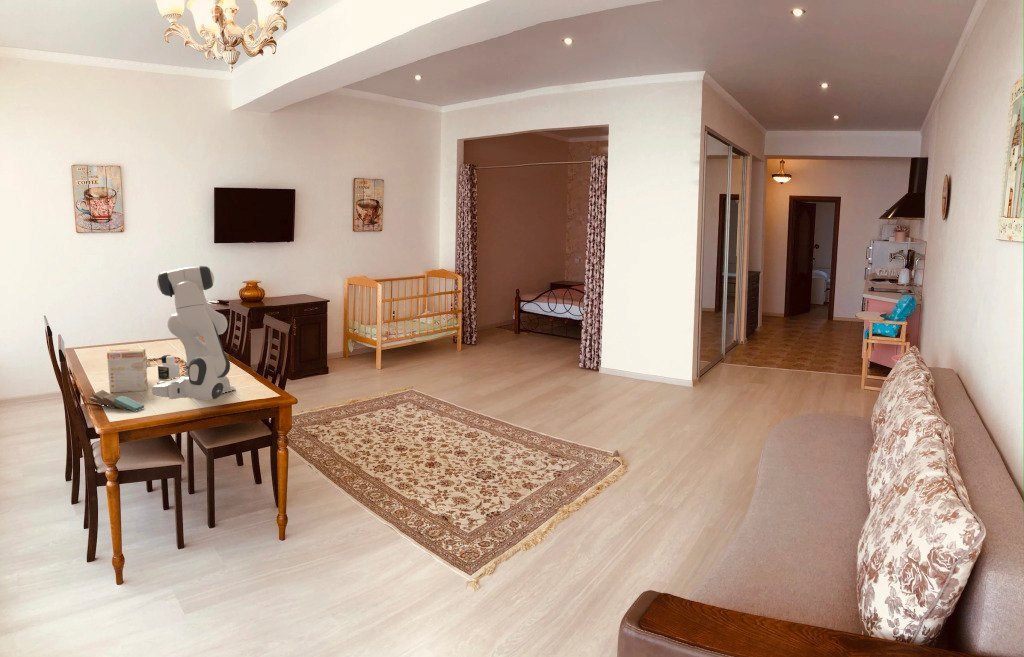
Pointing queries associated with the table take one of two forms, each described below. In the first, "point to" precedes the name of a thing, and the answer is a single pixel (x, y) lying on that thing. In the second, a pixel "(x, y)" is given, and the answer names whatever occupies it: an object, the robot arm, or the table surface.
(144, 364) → the coffeecake box
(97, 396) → the walnut domino
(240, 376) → the table surface
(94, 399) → the walnut domino
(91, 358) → the table surface
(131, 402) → the teal domino
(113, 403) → the walnut domino
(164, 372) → the medicine bottle
